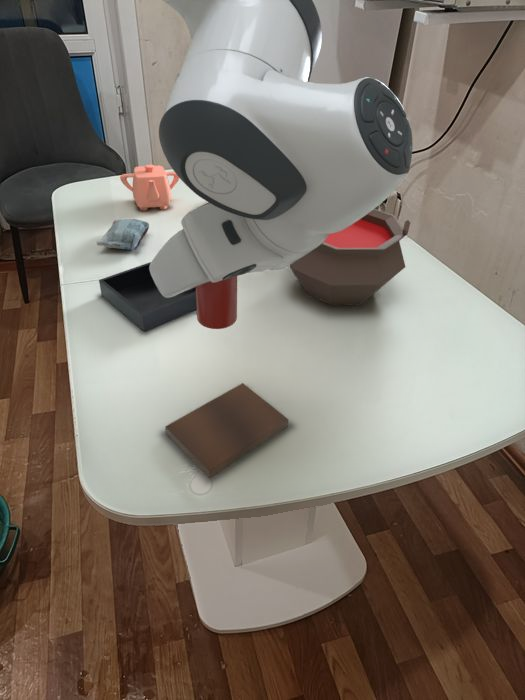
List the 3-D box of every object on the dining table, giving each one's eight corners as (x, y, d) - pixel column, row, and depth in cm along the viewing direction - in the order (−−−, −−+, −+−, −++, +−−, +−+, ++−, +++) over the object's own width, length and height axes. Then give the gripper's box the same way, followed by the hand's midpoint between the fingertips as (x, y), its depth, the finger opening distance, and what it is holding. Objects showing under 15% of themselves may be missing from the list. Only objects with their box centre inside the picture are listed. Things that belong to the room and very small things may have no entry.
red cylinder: (213, 334, 61) (211, 251, 55) (189, 316, 64) (184, 235, 57) (245, 319, 64) (246, 238, 57) (220, 302, 67) (219, 223, 60)
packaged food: (98, 254, 111) (94, 233, 108) (115, 230, 120) (112, 210, 117) (137, 257, 110) (135, 236, 107) (151, 234, 120) (150, 214, 117)
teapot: (116, 203, 133) (111, 164, 126) (150, 191, 140) (147, 153, 134) (155, 219, 126) (151, 178, 120) (188, 205, 134) (186, 166, 127)
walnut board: (209, 478, 65) (209, 471, 64) (165, 433, 71) (165, 426, 70) (287, 426, 73) (288, 419, 72) (242, 390, 79) (242, 382, 78)
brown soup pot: (264, 305, 98) (268, 225, 87) (296, 251, 116) (303, 179, 106) (390, 332, 92) (410, 250, 82) (403, 270, 110) (421, 197, 100)
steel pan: (144, 332, 89) (141, 315, 87) (101, 295, 98) (98, 279, 96) (248, 287, 103) (248, 271, 100) (202, 258, 111) (202, 243, 109)
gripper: (330, 169, 54) (265, 224, 66) (169, 217, 43) (125, 273, 55) (356, 222, 55) (287, 268, 66) (203, 284, 44) (151, 326, 55)
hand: (212, 271), depth 60 cm, fingers closed on red cylinder, 5 cm apart
